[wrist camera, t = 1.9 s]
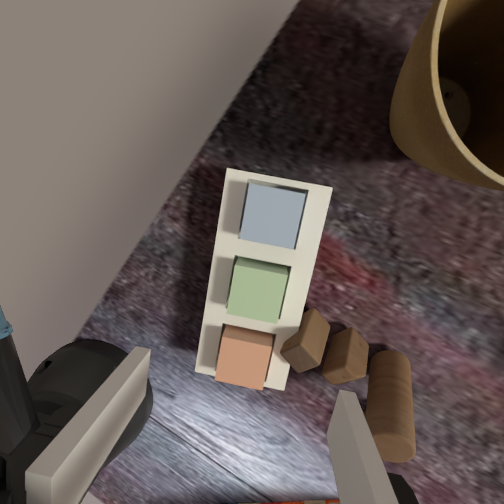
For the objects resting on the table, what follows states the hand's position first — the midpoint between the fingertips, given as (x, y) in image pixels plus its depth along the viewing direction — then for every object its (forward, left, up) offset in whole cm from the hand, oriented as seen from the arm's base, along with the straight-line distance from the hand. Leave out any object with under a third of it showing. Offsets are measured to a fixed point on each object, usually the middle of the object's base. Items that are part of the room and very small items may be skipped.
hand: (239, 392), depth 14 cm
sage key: (0, 0, -17) cm, 17 cm away
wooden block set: (+13, -8, -20) cm, 25 cm away
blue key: (0, +8, -17) cm, 19 cm away
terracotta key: (0, -8, -17) cm, 19 cm away
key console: (0, 0, -20) cm, 20 cm away
